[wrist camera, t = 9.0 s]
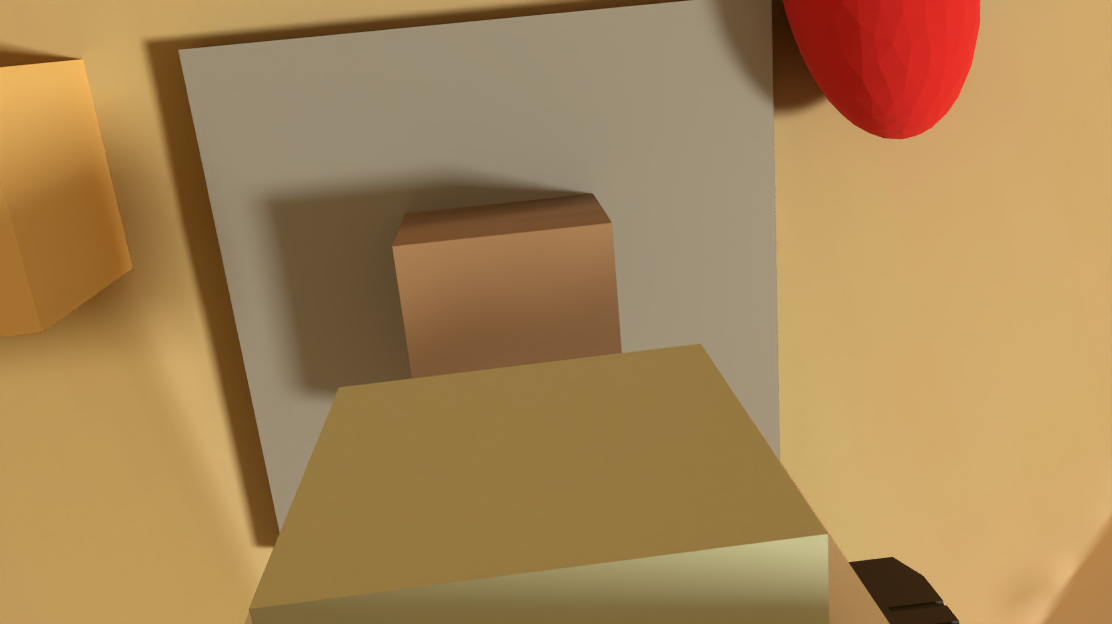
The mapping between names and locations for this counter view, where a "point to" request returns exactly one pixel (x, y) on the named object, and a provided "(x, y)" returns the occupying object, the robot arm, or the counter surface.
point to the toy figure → (887, 58)
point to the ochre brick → (53, 198)
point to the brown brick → (507, 285)
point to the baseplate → (489, 185)
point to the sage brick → (547, 504)
